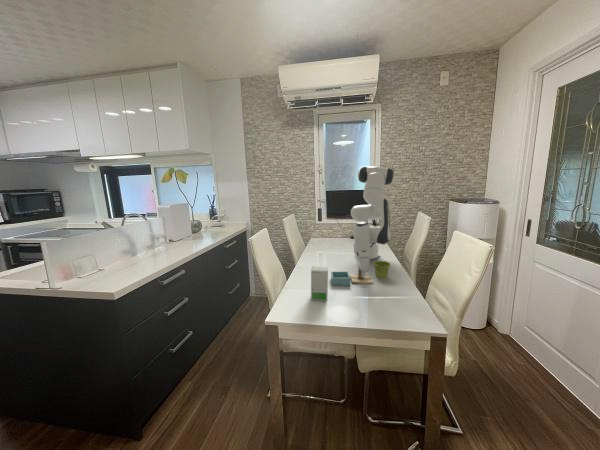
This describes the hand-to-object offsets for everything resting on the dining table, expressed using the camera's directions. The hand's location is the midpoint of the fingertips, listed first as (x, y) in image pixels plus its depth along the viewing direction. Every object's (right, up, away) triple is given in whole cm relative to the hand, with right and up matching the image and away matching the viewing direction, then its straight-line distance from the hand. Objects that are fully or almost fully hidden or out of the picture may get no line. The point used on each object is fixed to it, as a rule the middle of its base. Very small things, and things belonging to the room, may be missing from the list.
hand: (361, 273), depth 144 cm
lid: (0, -4, +1) cm, 4 cm away
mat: (0, -4, +1) cm, 5 cm away
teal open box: (-12, -5, -1) cm, 13 cm away
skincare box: (-25, -9, -18) cm, 32 cm away
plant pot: (+13, -4, +5) cm, 14 cm away
